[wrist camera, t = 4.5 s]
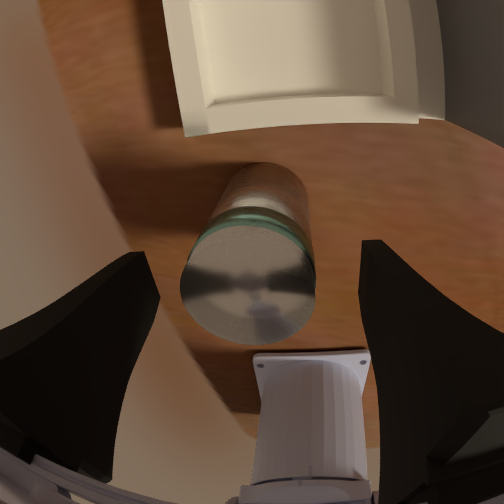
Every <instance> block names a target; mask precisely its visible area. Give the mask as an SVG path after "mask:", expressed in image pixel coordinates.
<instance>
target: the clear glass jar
mask: <svg viewBox="0 0 504 504" xmlns="http://www.w3.org/2000/svg"><path fill="white" fill-rule="evenodd" d="M315 288H316V273H315V259H314V251H313V247H312V240H311V227H310V216H309V205H308V196H307V192H306V189H305V187H304V185H303V183H302V181H301V180H300V179H299V178H298V176H297V175H295V174H294V173H293V172H292V171H290V170H289V169H287V168H285V167H284V166H281V165H278V164H274V163H255V164H252V165H249V166H247V167H244V168H243V169H241V170H240V171H238V172H237V173H236V174H235V175H234V176H233V177H232V179H231V180H230V182H229V183H228V185H227V187H226V189H225V191H224V193H223V194H222V196H221V198H220V200H219V202H218V204H217V206H216V208H215V209H214V211H213V213H212V215H211V217H210V219H209V221H208V223H207V225H206V226H205V227H204V228H203V230H202V231H201V233H200V235H199V237H198V239H197V241H196V243H195V245H194V246H193V248H192V250H191V252H190V255H189V257H188V260H187V264H186V266H185V268H184V270H183V273H182V276H181V280H180V293H181V297H182V301H183V303H184V306H185V308H186V309H187V311H188V313H189V314H190V315H191V317H192V318H193V319H194V320H195V321H196V322H197V323H198V324H199V325H200V326H201V327H203V328H204V329H205V330H207V331H208V332H210V333H212V334H214V335H215V336H217V337H220V338H222V339H225V340H228V341H231V342H235V343H239V344H247V345H263V344H270V343H274V342H278V341H281V340H284V339H286V338H288V337H290V336H292V335H293V334H295V333H297V332H298V331H299V330H300V329H301V328H302V327H303V326H304V325H305V324H306V323H307V322H308V320H309V319H310V317H311V315H312V312H313V310H314V306H315Z"/></svg>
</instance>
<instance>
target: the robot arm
mask: <svg viewBox="0 0 504 504" xmlns="http://www.w3.org/2000/svg"><path fill="white" fill-rule="evenodd" d="M358 295H359V303H360V310H361V318H362V323H363V327H364V331H365V335H366V339H367V343H368V347H369V350H367V349H362V350H347V351H328V352H301V353H257V354H255V355H254V356H253V365H254V370H255V375H256V379H257V384H258V389H259V393H260V398H261V410H260V418H259V426H258V433H257V441H256V448H255V455H254V463H253V470H252V478H251V484H250V486H245V485H242V486H241V488H240V494H239V497H232V498H231V499H229V500H228V501H227V502H226V503H225V504H504V333H502V332H500V331H498V330H496V329H495V328H493V327H491V326H490V325H488V324H486V323H485V322H483V321H481V320H480V319H478V318H476V317H475V316H473V315H472V314H470V313H469V312H467V311H466V310H464V309H463V308H461V307H460V306H459V305H457V304H456V303H454V302H453V301H451V300H450V299H449V298H447V297H446V296H445V295H443V294H442V293H441V292H440V291H438V290H437V289H436V288H435V287H434V286H432V285H431V284H430V283H429V282H427V281H426V280H425V279H424V278H423V277H422V276H420V275H419V274H418V273H417V272H416V271H415V270H414V269H413V268H411V267H410V266H409V265H408V264H407V263H406V262H405V261H404V260H403V259H402V258H401V257H400V256H398V255H397V254H396V253H395V252H394V251H393V250H392V249H391V248H390V247H389V246H388V245H387V244H385V243H384V242H383V241H382V240H362V248H361V264H360V277H359V288H358ZM159 301H160V294H159V292H158V289H157V286H156V284H155V281H154V278H153V276H152V273H151V270H150V267H149V264H148V262H147V259H146V256H145V253H144V251H141V252H129V253H127V254H125V255H123V256H121V257H120V258H118V259H116V260H115V261H114V262H112V263H110V264H109V265H107V266H106V267H104V268H103V269H102V270H100V271H99V272H97V273H96V274H94V275H93V276H92V277H90V278H89V279H87V280H86V281H84V282H83V283H82V284H80V285H79V286H77V287H76V288H74V289H73V290H71V291H70V292H68V293H67V294H65V295H64V296H63V297H61V298H60V299H58V300H56V301H55V302H53V303H52V304H50V305H48V306H47V307H45V308H43V309H41V310H40V311H38V312H36V313H34V314H33V315H31V316H29V317H26V318H24V319H23V320H21V321H19V322H17V323H15V324H13V325H10V326H8V327H6V328H3V329H1V330H0V504H79V503H77V502H75V501H73V500H72V499H71V495H70V494H69V493H72V494H74V495H76V496H78V497H81V498H83V499H85V500H88V501H90V502H92V503H95V504H176V503H171V502H167V501H163V500H158V499H155V498H151V497H147V496H143V495H139V494H136V493H133V492H129V491H126V490H123V489H119V488H116V487H114V486H110V485H108V484H106V483H108V482H110V481H111V480H112V470H113V456H114V446H115V439H116V433H117V426H118V421H119V416H120V411H121V407H122V402H123V399H124V395H125V392H126V388H127V384H128V381H129V378H130V376H131V373H132V370H133V368H134V366H135V363H136V361H137V359H138V356H139V354H140V352H141V349H142V347H143V345H144V342H145V340H146V338H147V336H148V333H149V331H150V329H151V327H152V324H153V322H154V319H155V315H156V312H157V309H158V305H159ZM370 360H372V365H373V369H374V374H375V379H376V385H377V393H378V405H379V421H380V482H379V491H373V492H372V495H371V483H370V482H371V481H370V480H367V462H366V446H365V432H364V420H363V409H362V399H361V397H362V393H363V389H364V385H365V381H366V377H367V373H368V368H369V364H370Z"/></svg>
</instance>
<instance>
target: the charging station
mask: <svg viewBox="0 0 504 504" xmlns="http://www.w3.org/2000/svg"><path fill="white" fill-rule="evenodd" d="M162 1H163V9H164V16H165V22H166V29H167V36H168V42H169V48H170V55H171V61H172V67H173V73H174V79H175V84H176V90H177V96H178V101H179V107H180V112H181V118H182V123H183V128H184V134H185V137H191V136H198V135H204V134H211V133H219V132H226V131H234V130H243V129H252V128H262V127H273V126H286V125H301V124H320V123H363V122H370V123H412V124H419V118H428V119H441V120H447V121H449V122H451V123H454V124H456V125H458V126H460V127H463V128H465V129H467V130H469V131H471V132H473V133H475V134H477V135H479V136H481V137H484V138H486V139H487V140H489V141H491V142H493V143H495V144H497V145H499V146H501V147H503V148H504V0H162Z"/></svg>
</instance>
